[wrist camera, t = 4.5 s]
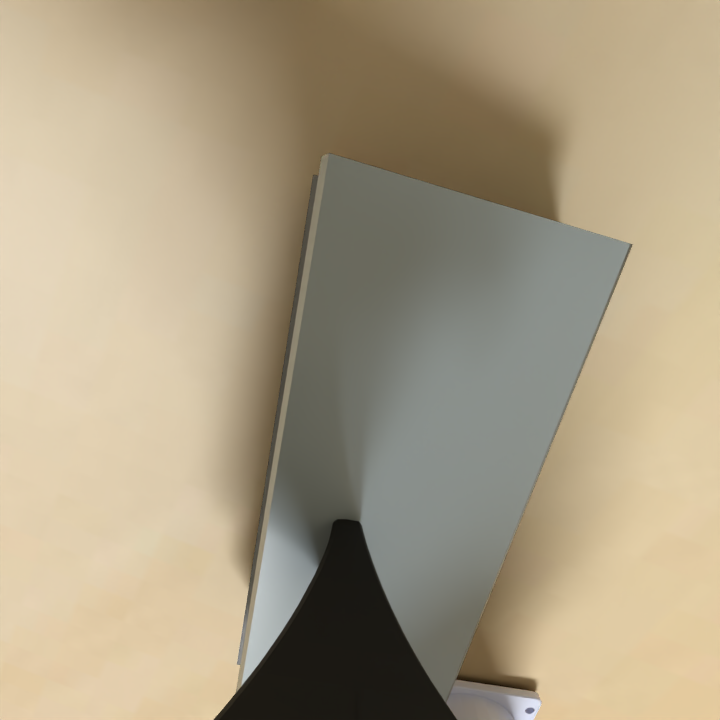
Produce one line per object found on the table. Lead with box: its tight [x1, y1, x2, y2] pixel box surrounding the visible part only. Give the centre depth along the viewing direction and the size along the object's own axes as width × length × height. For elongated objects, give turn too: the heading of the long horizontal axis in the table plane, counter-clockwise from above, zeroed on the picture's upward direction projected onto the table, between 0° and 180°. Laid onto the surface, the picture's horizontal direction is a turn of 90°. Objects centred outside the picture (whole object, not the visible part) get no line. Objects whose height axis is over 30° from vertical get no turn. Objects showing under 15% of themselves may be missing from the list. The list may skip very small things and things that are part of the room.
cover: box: [236, 153, 632, 703], centre depth 12 cm, size 20×9×1 cm, turn 168°
